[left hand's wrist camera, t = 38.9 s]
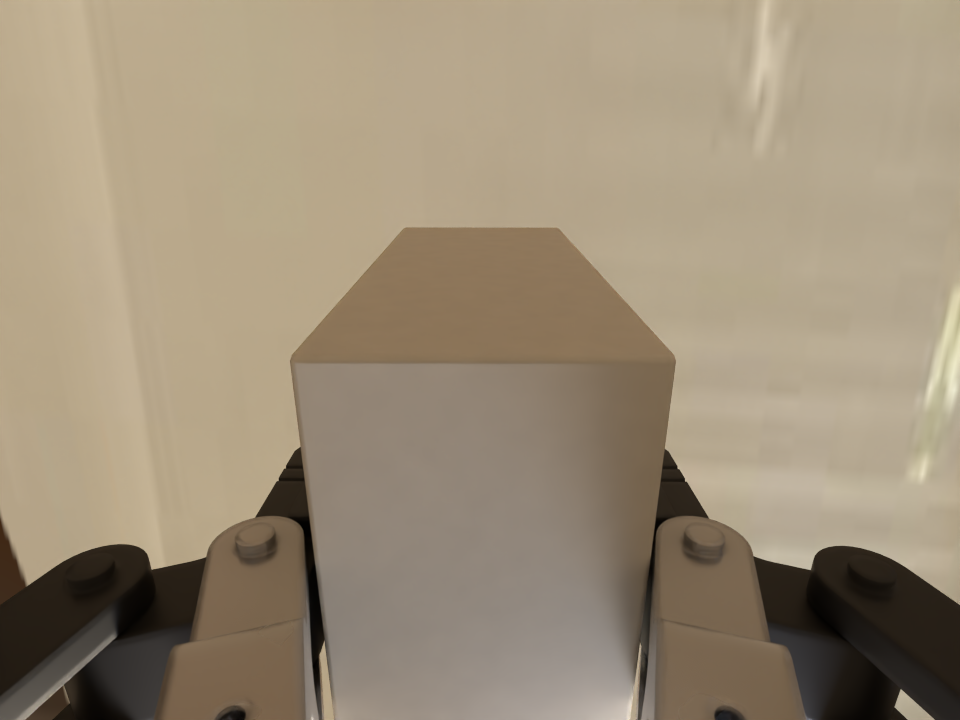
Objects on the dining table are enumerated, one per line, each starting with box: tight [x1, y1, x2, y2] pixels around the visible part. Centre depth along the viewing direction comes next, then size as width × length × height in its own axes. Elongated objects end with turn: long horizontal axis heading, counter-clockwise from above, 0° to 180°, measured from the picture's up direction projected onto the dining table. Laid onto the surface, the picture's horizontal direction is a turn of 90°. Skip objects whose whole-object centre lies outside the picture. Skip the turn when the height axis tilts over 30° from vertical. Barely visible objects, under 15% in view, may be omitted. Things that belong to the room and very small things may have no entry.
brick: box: [290, 228, 676, 720], centre depth 13 cm, size 4×8×10 cm, turn 0°
